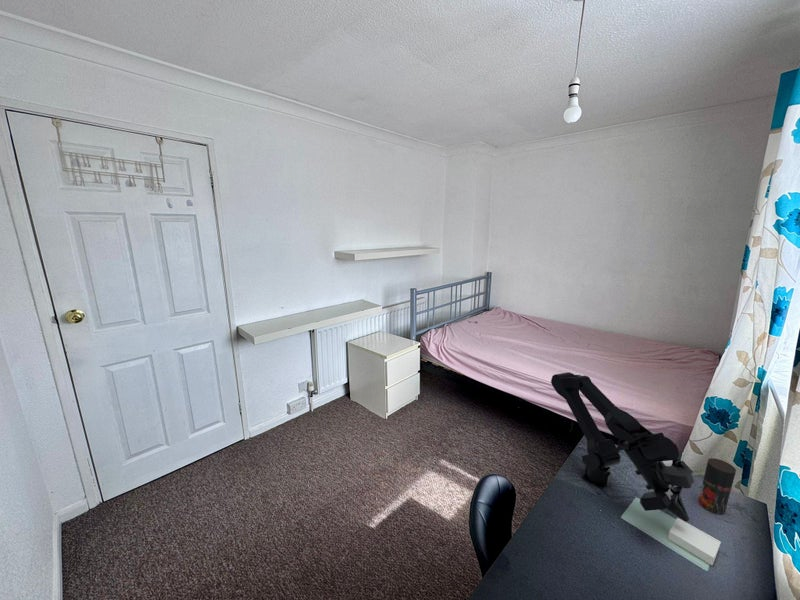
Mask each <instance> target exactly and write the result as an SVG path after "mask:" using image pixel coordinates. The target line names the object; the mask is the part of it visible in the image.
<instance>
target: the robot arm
mask: <svg viewBox="0 0 800 600" xmlns="http://www.w3.org/2000/svg"><path fill="white" fill-rule="evenodd" d="M550 383H551V385H552V388H553V389H554V391H555V392H556V394H558V395H559V396H561V398H563V399H564V400H565V401H566V403H567V405H568V407H569V408H570V410H571V412H572V415H573V417H574V418H575V420H576V423H577V424H578V426H579V428H580V429H581V431H582V433H583V435H584V437H585V438H586V451H587V454H584V455H581V459H582V463H583V464H585V465H584V466H585V467H584V474H583V475H582V476H581V479H582V480H584V481H586V482H588V483H589V484H592V485H593V486H595V487H596V488H599V489H601V490H603V489H604V488H605V487H608V486H609V485H610V484H611V477H612V472H611V467H615V466H617V465H619V464H620V462H621V455H620V451H624V453H625V454H626V456H627V458H629V460H630V461H631V462H632V464H633V466H634V467H635V468H636V469H635V474H636V475H637V476H639V475H641V477H642V478H643V479H644V481H645V483H646V485H645V487H646V490H648V492H644V493H643V494H642V496H641V498H639V499H640V504H641V506H642V507H643V508H644V510H645V511H649V510H660V511H661V510H668V511H669V512H671V513H672V514H673V515H675V516H676V517H677V518H679V519H681V520H683V521H684V522H686V523H688V522H689V521H690V518H689V515H688V512H687V510H686V507H685V506H684V502H683V500H682V497H681V493H682V490H683V489H688V490H689V489H690V488H692V484H693V483H694V482H695V481H694V478H693V473H694V471H693V470H692V469H691V468H690V467H689V466H688V464H686V462H685V461H684V460H679V459H678V458H679V457H680V452H679V448H678V446H677V444H676V443H675V442H673V441H672V439H670V438H669V437H667V436H665V434H664V433H663V432H656V433H653V432H651V431H650V430H649V429H648V428H646V427H645V426H644V425H642V424H641V422H639V420H638V419H636V417H634V416H633V415H631V414H630V413H629V412H628V411H625V410H623V409H621V408H619V407H618V406H616V405H615V404H614V403H613V402H612V400H610V399H609V398H608V396H606V395H605V394H604V393H603V392H602V391H601V390H600V389H599V387H598V386H597V385H595V384H594V382H593V381H592V380H591V378H590V377H589V376H588V375H581V374H574V373H573V372H570V371H567V372H562V373H561V372H560V373H556V374H553V375H552V377H551V381H550ZM580 393H581V394H582V395H583V396H584V398H586V399H587V400H588V402H589V403H590V404H591V405H592V406H593V407H594V408H595V409H596V410H597V412H598V413H599V414H600V415H601V416H602V417H603V418H604V424H605V425H606V427H607V429H609V431H610V432H611V434H612V435H613V436H614V437H615V438H616V439H618V441H617V446H616V444H615V442H614V440H613V439H611V438H608V439H607V438H606V436H604V435H603V434H602V433H601V431H600V429H599V427H598V425H597V424H596V422H595V420H594V418H593V417H592V415H591V414H590V411H589V410H588V408H587V406H586V404H585V402H584V400H583V399H582V396H580ZM671 460H673V461H676V462H675V464H672V465H671V466H666V465H665V464H664V463H663V462H661V461H671ZM650 490H652V491H650Z"/></svg>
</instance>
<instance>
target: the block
mask: <svg viewBox="0 0 800 600" xmlns="http://www.w3.org/2000/svg"><path fill="white" fill-rule="evenodd" d="M675 519H676V521H675V522H674V524H673V526H672V528H671V529H670V531H669V535H668V539H669V540H670V541H672V542H674V543H675V544H677V545H678V546H680V547H682V548H683V549H685V550H687V551H688V552H690V553H692V554H693V555H695V556H697V557H698V558H700V559H701V560H703V561H705V562H706V563H708V564H710V566H713V565H714V563H715V559H716V558H717V556H718V552H719V549H720V546H721V543H722V542H721V541H720V540H718V539H717V538H714V537H713V536H711V535H709V534H708V533H706V532H705V531H702V530H701V529H699V528H697V527H695V526H693V525H692V524H690V523H688V522H685V521H683V520H682V519H680V518H679V517H676V518H675Z"/></svg>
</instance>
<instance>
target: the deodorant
mask: <svg viewBox="0 0 800 600" xmlns="http://www.w3.org/2000/svg"><path fill="white" fill-rule="evenodd" d="M736 472H737V469H736V468H735V466H733V465H732V464H731V463H729V462H727V461H725V460H722V459H719V458H714V457H713V458H712V457H711V458H708V460H707V463H706V468H705V471H704V476H703V480H702V482H701V483H702V484H701V487H700V490H699V491H700V492H699V496H698V499H697V502H698V504H699V505H700V506H701V507H702V508H703V509H704V510H705V511H707V512H708V513H712V514H715V515H719V516H722V515H724V514H725V513H726V511H727V507H728V503H729V498H730V495H731V491H732V487H733V483H734V479H735V476H736Z"/></svg>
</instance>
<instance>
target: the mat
mask: <svg viewBox="0 0 800 600" xmlns="http://www.w3.org/2000/svg"><path fill="white" fill-rule="evenodd" d="M640 499H641V498H639V497H637V496H636V497H635V498H634V499H633V500H632V502H631V503H630V505H629V506H628V507H627V508H626V509H625V511H624V512H623V514H622V515H621V516H620V519H622V520H624V521H625V522H627V523H629V524H630V525H632V526H634V527H635V528H637V529H638V530H640V531H641V532H643V533H645V534H646V535H647V536H649V537H651V538H652V539H654V540H656V541H657V542H659V543H661V544H662V545H664V546H666V547H667V548H669V549H670V550H672V551H673V552H675V553H677V554H678V555H680V556H681V557H683V558H685V559H686V560H688V561H690V563H691V562H692V564H694V565H696V566H698V567H700V568H701V569H703V571H706V572H708V571H709V569H710V566H711V565H710V564H708V563H706V562H705V561H703V560H701V559H700V558H698V557H697V556H695V555H693V554H692V553H690V552H688V551H687V550H685V549H683V548H682V547H680V546H678V545H677V544H675V543H674V542H672V541H670V540H669V539H668V535H669V531H670V529H671V528H672V526H673V524H674V522H675V521H676V519H677V518H674V517H673V516H671V515H669V514H668V513H666V512H664V511H662V510H661V509H660V510H649V511H645V510H644V508H643V507H642V506H641V504H640Z"/></svg>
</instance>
